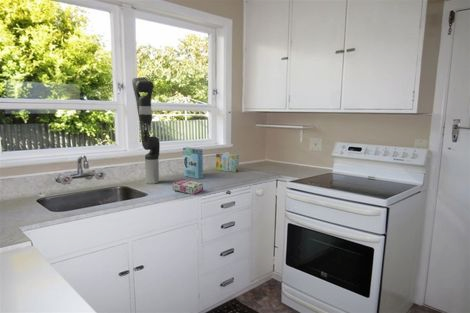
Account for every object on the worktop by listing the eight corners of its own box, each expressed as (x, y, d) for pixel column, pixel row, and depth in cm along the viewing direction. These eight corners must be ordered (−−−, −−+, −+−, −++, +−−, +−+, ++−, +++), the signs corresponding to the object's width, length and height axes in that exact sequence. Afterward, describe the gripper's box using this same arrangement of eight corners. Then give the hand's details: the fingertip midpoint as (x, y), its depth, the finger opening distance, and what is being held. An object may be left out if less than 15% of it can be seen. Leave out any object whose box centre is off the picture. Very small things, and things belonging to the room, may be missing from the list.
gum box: (203, 178, 237) (203, 149, 234) (197, 179, 234) (197, 149, 231) (188, 174, 251) (187, 147, 248) (183, 175, 248) (182, 147, 245)
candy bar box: (172, 190, 197) (192, 195, 188) (172, 182, 196) (192, 187, 187) (184, 185, 206) (203, 190, 198) (184, 178, 205) (203, 183, 197)
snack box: (239, 171, 268) (239, 154, 266) (235, 172, 263) (235, 155, 261) (219, 169, 279) (219, 152, 277) (215, 170, 274) (215, 153, 272)
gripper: (139, 113, 195) (140, 140, 198) (138, 113, 183) (139, 142, 185) (151, 113, 197) (152, 140, 200) (151, 113, 185) (152, 142, 187)
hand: (146, 141), depth 192 cm, fingers closed
